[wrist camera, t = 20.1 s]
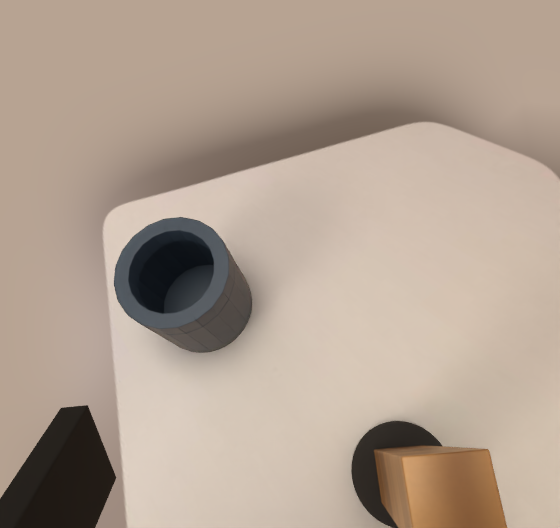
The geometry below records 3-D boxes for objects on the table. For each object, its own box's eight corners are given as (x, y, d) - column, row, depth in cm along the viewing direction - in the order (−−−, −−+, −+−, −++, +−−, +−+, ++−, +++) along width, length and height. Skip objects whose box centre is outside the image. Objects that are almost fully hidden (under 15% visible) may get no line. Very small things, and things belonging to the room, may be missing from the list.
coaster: (336, 442, 39) (336, 442, 38) (422, 406, 39) (424, 406, 38) (376, 544, 36) (377, 546, 35) (470, 505, 36) (472, 506, 35)
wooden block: (381, 503, 36) (417, 556, 20) (373, 449, 38) (400, 456, 21) (432, 499, 36) (512, 550, 19) (422, 445, 37) (489, 448, 21)
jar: (150, 282, 46) (103, 242, 37) (234, 248, 47) (208, 201, 37) (174, 367, 43) (128, 347, 34) (264, 330, 43) (244, 300, 34)
